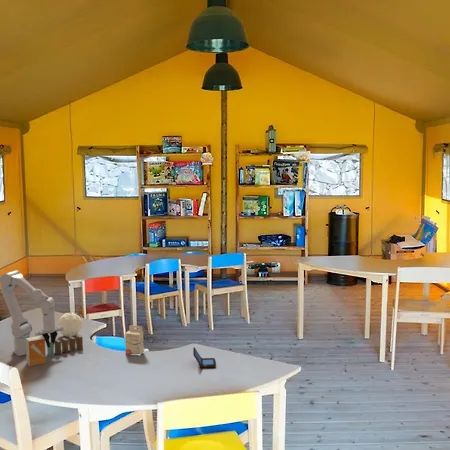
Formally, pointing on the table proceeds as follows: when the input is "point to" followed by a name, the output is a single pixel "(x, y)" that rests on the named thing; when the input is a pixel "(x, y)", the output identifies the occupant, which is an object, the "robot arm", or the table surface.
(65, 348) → the domino
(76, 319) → the geodesic sphere
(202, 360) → the handheld game console
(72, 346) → the domino
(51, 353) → the domino
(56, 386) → the table surface
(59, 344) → the domino
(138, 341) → the ink cartridge box
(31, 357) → the small box
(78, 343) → the domino
